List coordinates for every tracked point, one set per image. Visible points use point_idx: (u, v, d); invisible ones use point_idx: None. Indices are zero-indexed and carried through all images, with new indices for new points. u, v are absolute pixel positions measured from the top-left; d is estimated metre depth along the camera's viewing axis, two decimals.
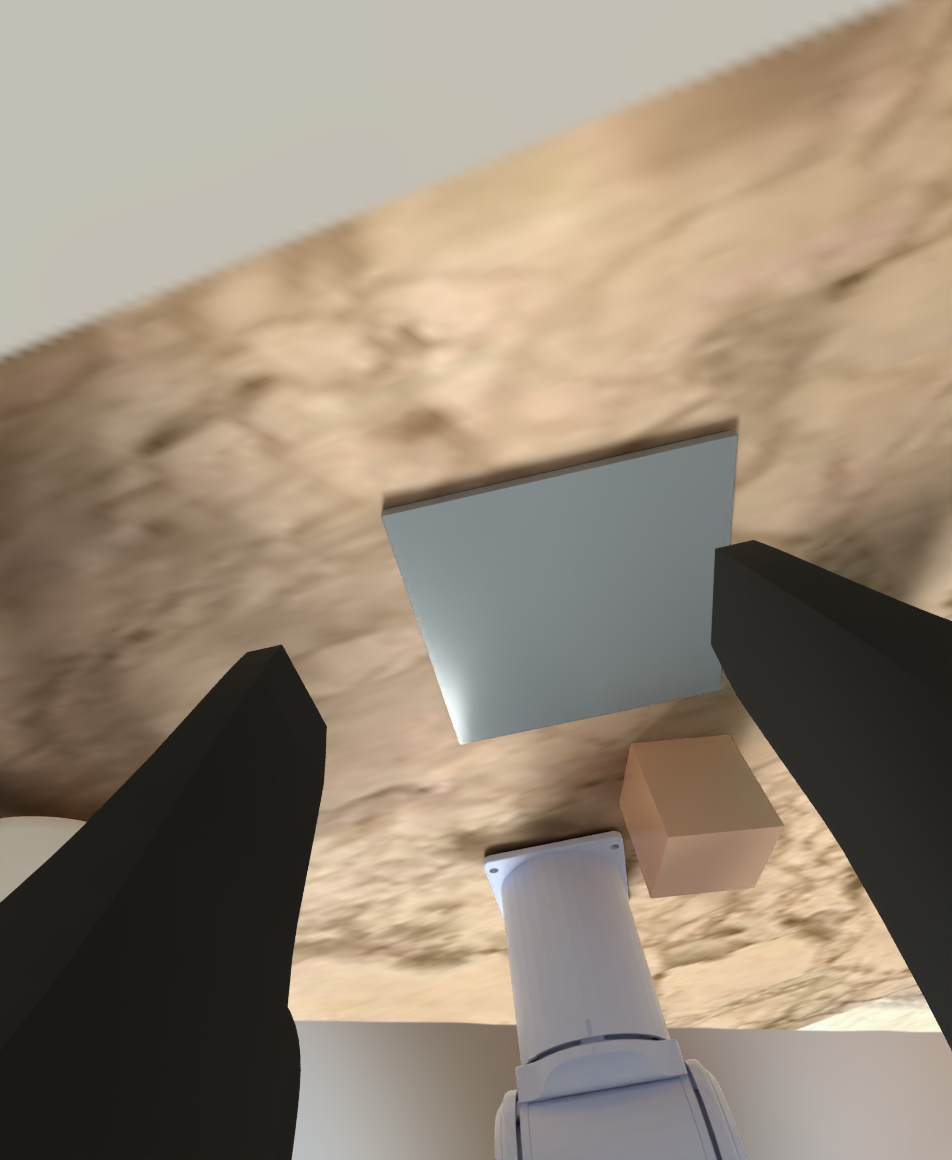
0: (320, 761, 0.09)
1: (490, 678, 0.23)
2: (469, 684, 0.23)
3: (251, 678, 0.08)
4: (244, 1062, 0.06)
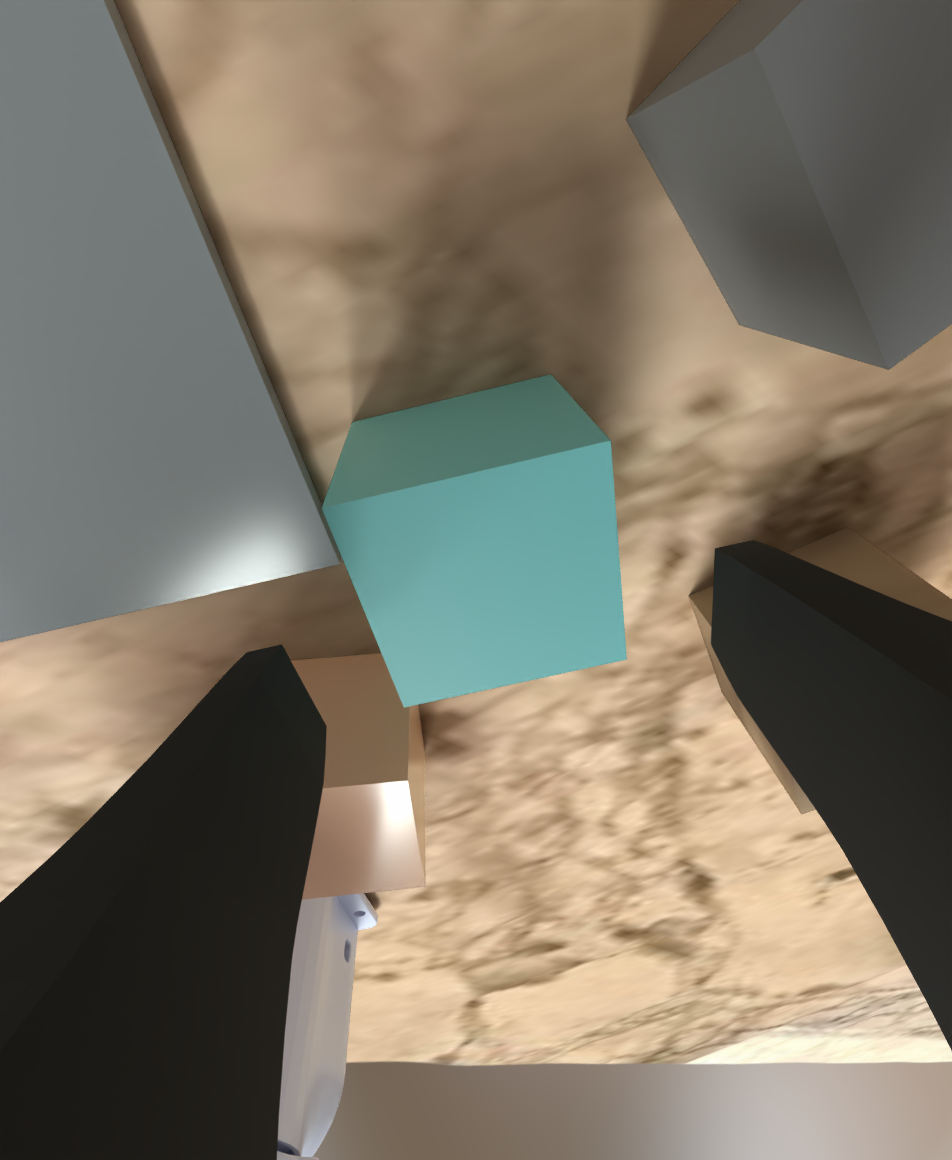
0: (320, 761, 0.09)
1: None
2: None
3: (251, 678, 0.08)
4: (244, 1061, 0.06)
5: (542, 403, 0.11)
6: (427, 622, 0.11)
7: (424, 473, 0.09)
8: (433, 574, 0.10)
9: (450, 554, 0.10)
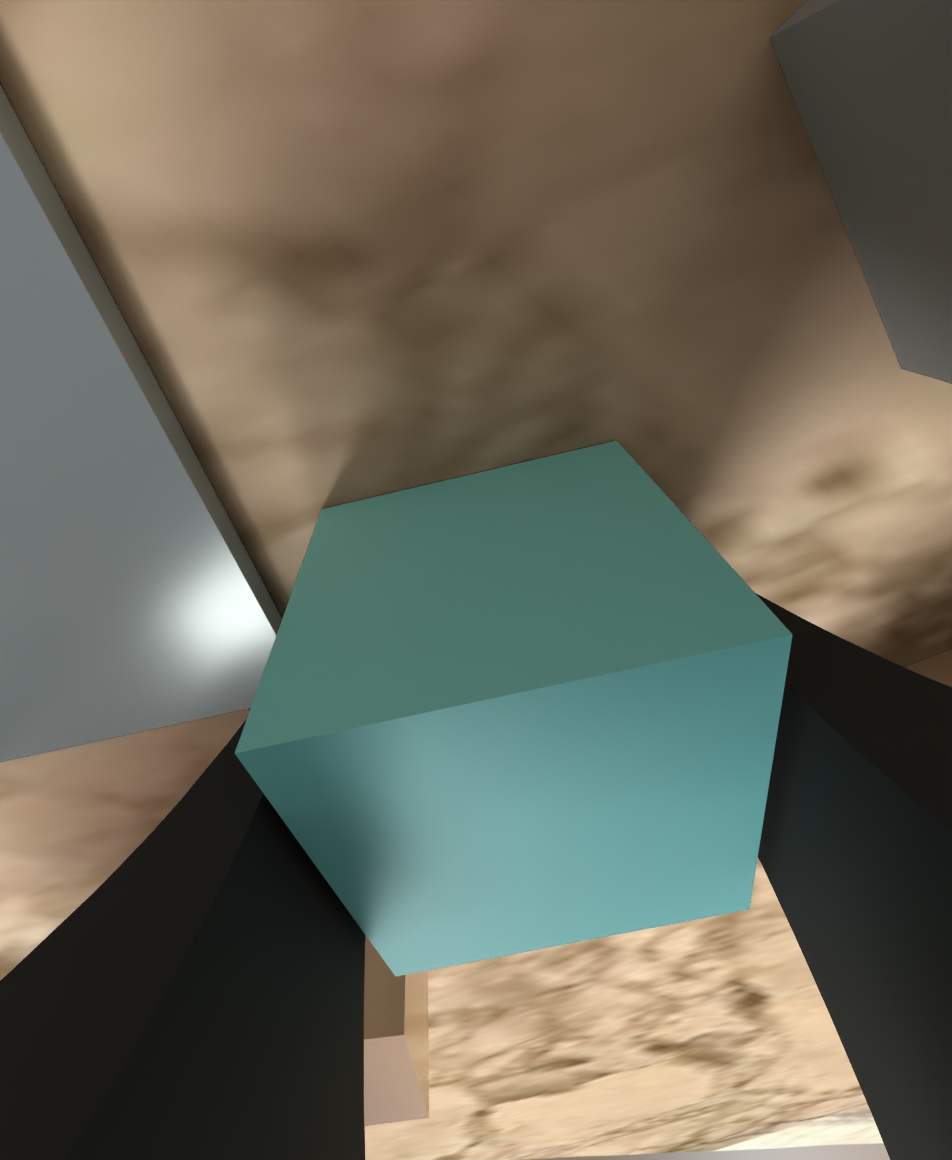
0: None
1: None
2: None
3: None
4: (334, 1044, 0.06)
5: (621, 508, 0.07)
6: (432, 886, 0.06)
7: (428, 675, 0.05)
8: (444, 830, 0.06)
9: (476, 804, 0.06)
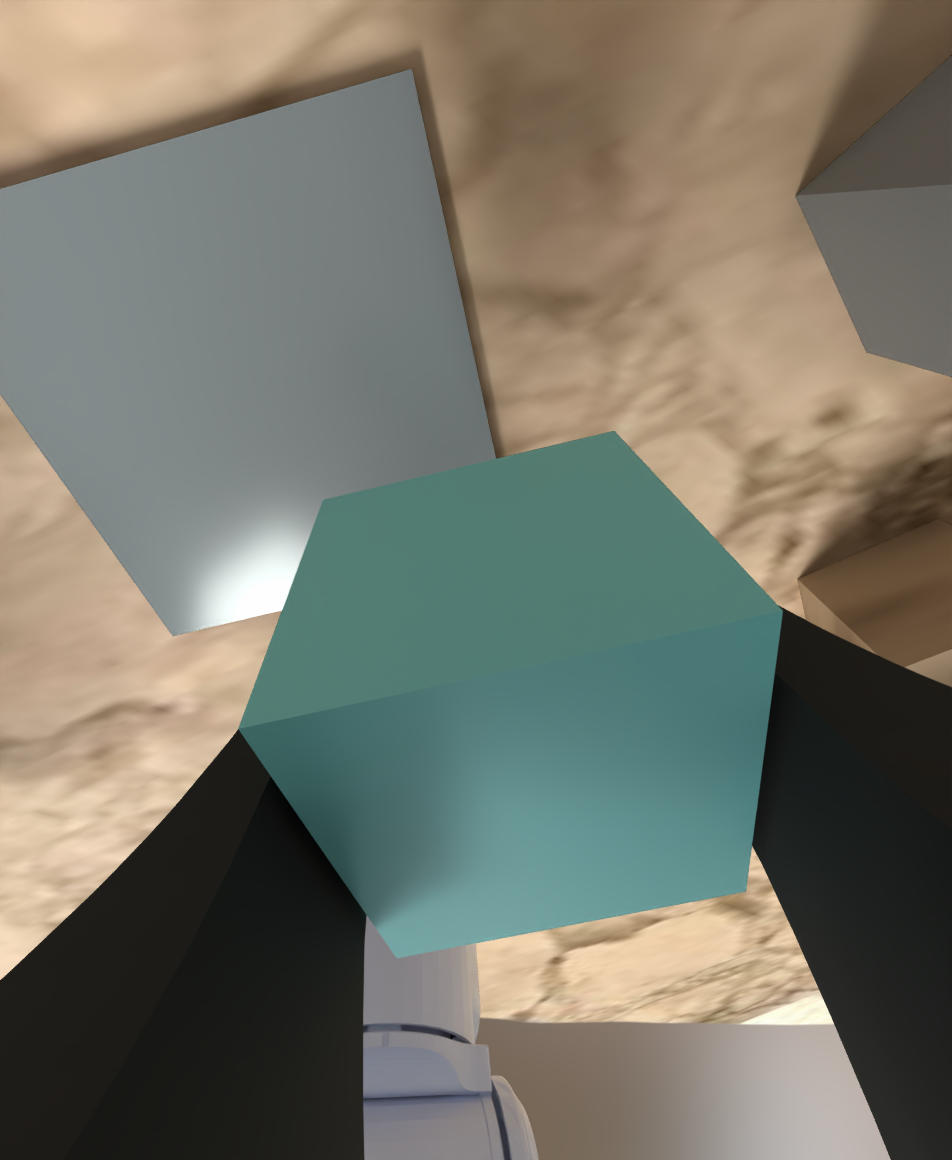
0: None
1: (175, 529, 0.16)
2: (147, 538, 0.16)
3: None
4: (333, 1044, 0.06)
5: (617, 495, 0.07)
6: (432, 865, 0.06)
7: (427, 654, 0.05)
8: (443, 808, 0.06)
9: (475, 782, 0.06)
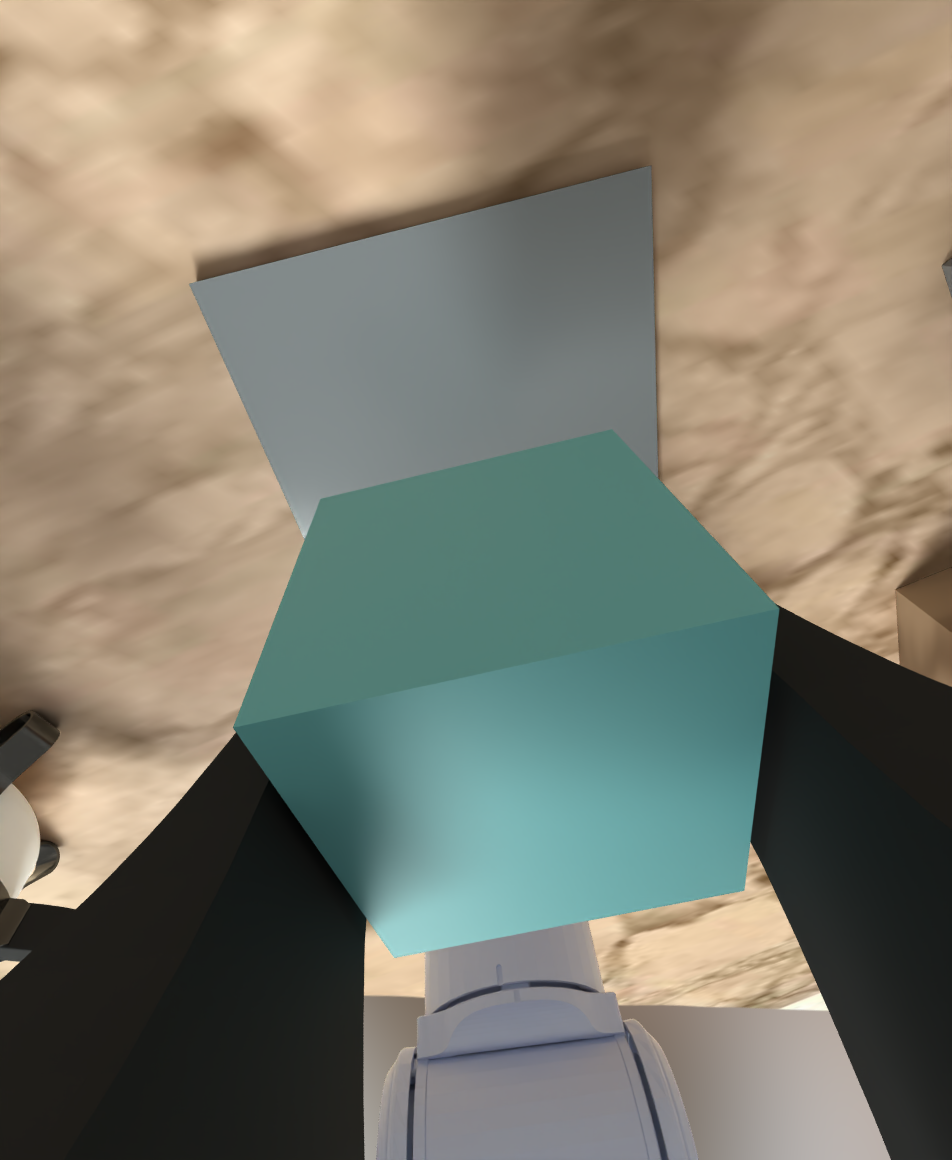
0: None
1: None
2: None
3: None
4: (334, 1045, 0.06)
5: (614, 492, 0.07)
6: (430, 864, 0.06)
7: (423, 653, 0.05)
8: (440, 808, 0.06)
9: (471, 780, 0.06)
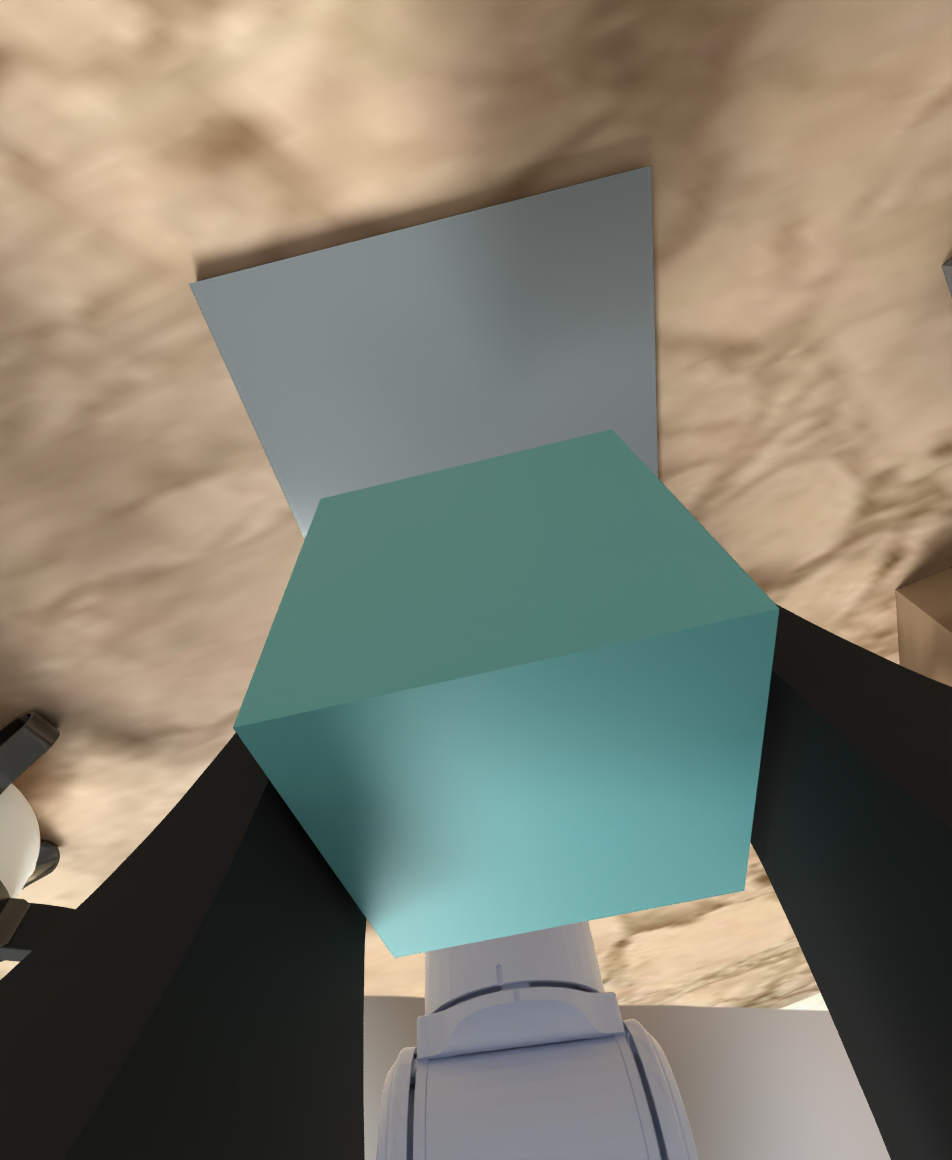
0: None
1: None
2: None
3: None
4: (334, 1045, 0.06)
5: (614, 492, 0.07)
6: (430, 864, 0.06)
7: (423, 653, 0.05)
8: (440, 808, 0.06)
9: (471, 780, 0.06)
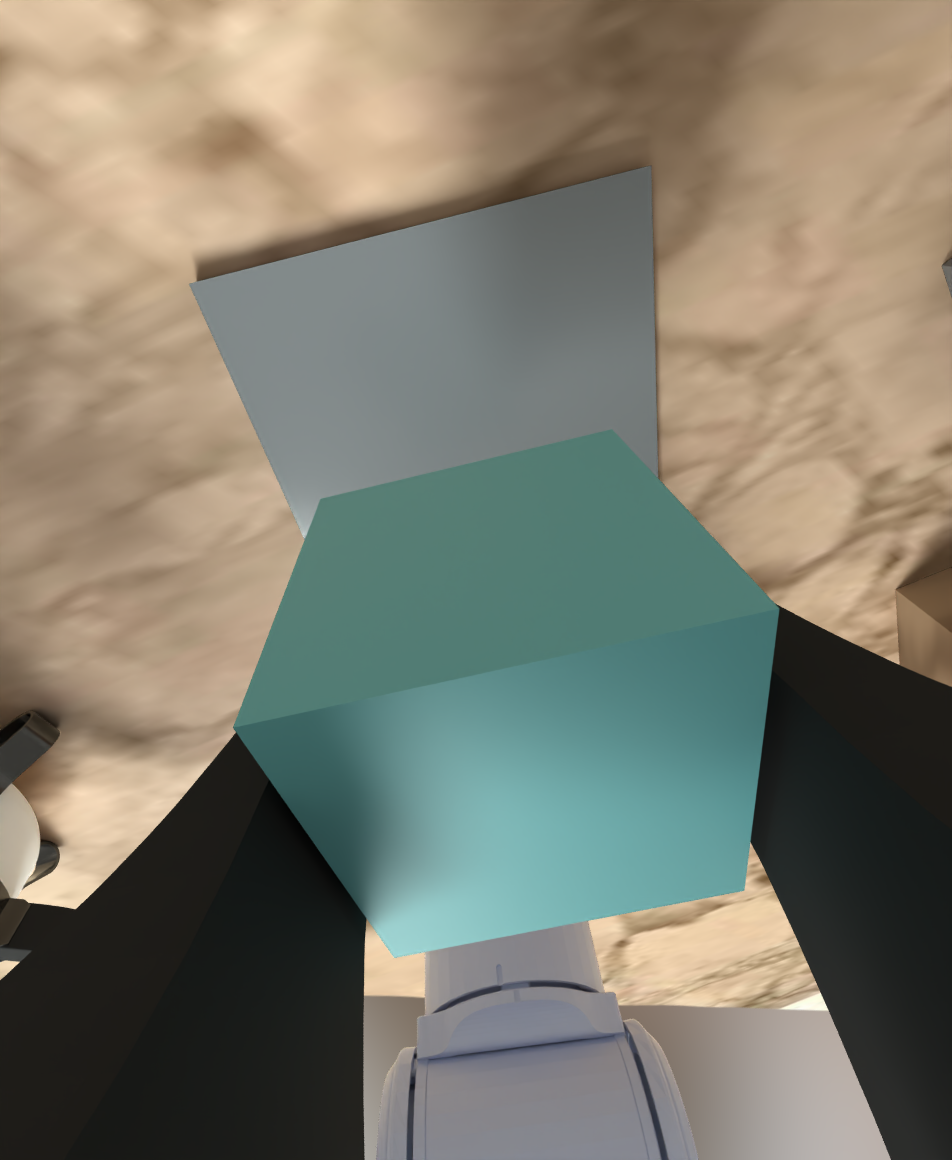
0: None
1: None
2: None
3: None
4: (334, 1045, 0.06)
5: (614, 492, 0.07)
6: (430, 864, 0.06)
7: (423, 653, 0.05)
8: (440, 808, 0.06)
9: (471, 780, 0.06)
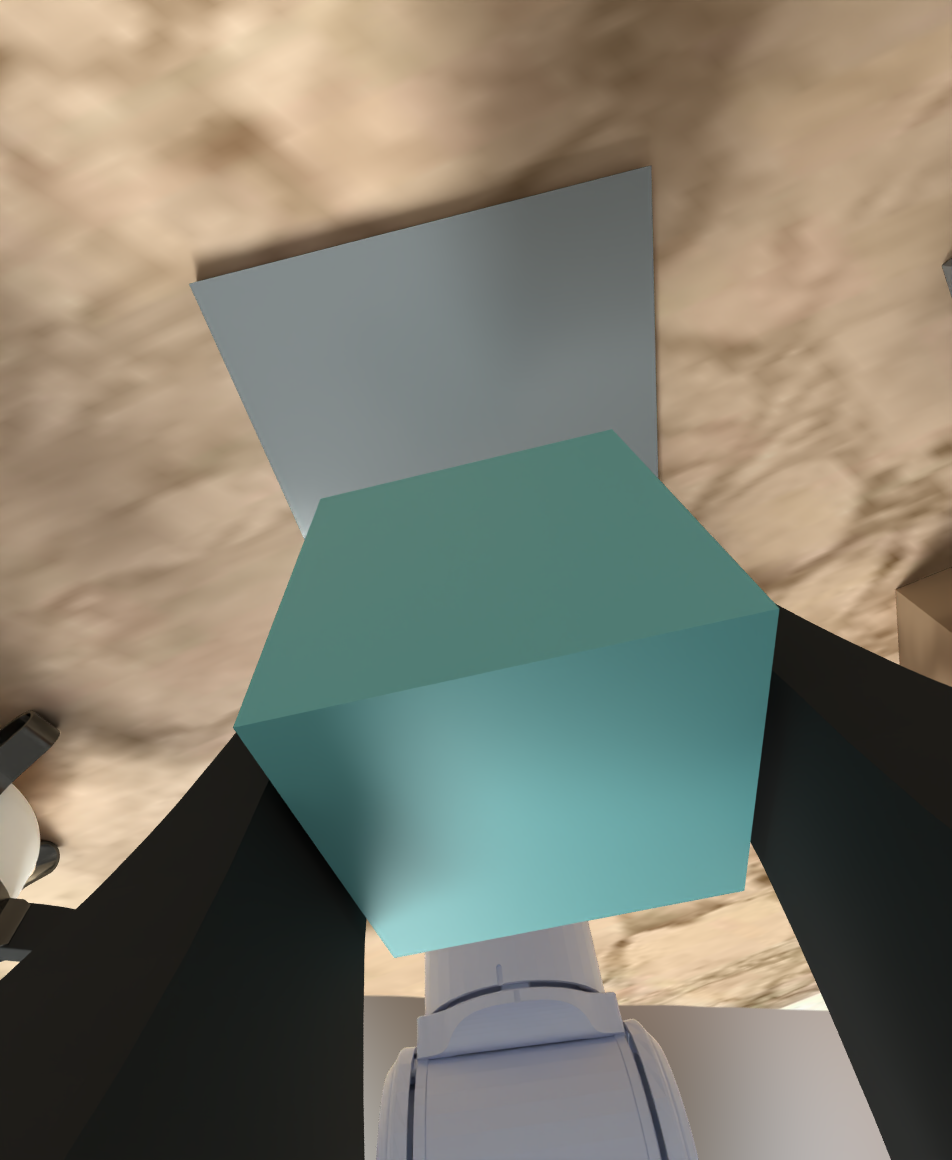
0: None
1: None
2: None
3: None
4: (334, 1045, 0.06)
5: (614, 492, 0.07)
6: (430, 864, 0.06)
7: (423, 653, 0.05)
8: (440, 808, 0.06)
9: (471, 780, 0.06)
